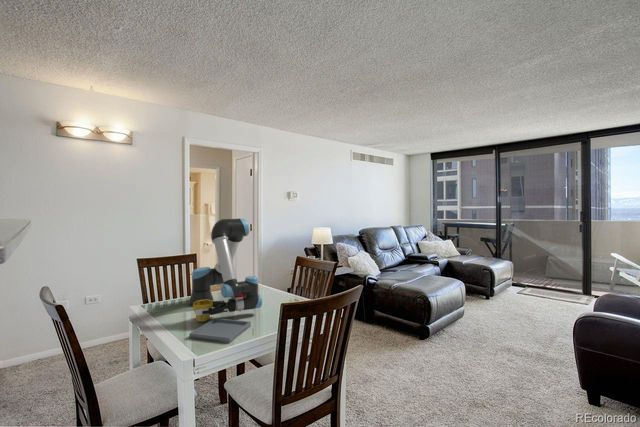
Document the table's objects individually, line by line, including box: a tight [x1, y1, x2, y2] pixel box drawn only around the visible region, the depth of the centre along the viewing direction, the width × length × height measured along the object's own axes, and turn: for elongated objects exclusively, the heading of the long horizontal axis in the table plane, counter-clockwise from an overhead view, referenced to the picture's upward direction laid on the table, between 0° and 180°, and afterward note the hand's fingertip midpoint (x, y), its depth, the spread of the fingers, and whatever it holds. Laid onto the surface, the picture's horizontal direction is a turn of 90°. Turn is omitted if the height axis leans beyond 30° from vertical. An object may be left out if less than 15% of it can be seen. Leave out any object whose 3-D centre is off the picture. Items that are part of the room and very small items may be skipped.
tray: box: [189, 317, 252, 344], centre depth 164 cm, size 22×22×2 cm
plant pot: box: [192, 300, 214, 322], centre depth 178 cm, size 10×10×10 cm
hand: (194, 309), depth 176 cm, fingers closed on plant pot, 10 cm apart
